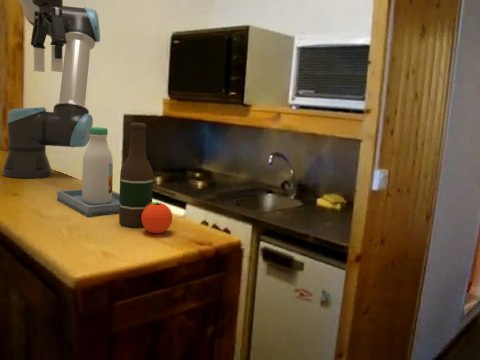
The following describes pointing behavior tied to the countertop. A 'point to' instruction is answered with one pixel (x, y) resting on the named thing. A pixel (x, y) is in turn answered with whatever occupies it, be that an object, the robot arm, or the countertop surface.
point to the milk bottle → (97, 169)
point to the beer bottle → (135, 180)
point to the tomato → (156, 217)
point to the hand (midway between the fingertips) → (47, 71)
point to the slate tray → (75, 201)
